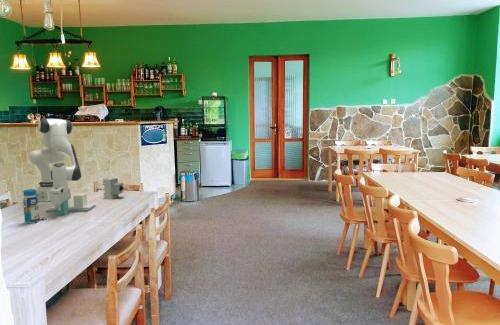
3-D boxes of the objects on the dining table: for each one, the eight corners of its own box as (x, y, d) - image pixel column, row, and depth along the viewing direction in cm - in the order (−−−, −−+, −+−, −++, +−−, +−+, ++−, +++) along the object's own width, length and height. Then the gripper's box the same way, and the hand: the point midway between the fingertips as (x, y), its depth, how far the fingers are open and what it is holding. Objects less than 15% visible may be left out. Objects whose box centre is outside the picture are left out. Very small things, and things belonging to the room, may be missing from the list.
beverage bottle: (25, 221, 246) (22, 189, 243) (40, 219, 249) (38, 188, 247) (23, 224, 238) (20, 192, 236) (39, 222, 242) (36, 190, 239)
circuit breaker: (120, 199, 303) (119, 179, 301) (104, 198, 306) (102, 179, 304) (125, 197, 310) (124, 178, 308) (109, 196, 313) (108, 177, 311)
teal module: (57, 215, 258) (56, 202, 257) (61, 213, 264) (60, 200, 263) (65, 215, 258) (63, 201, 257) (68, 213, 264) (67, 199, 263)
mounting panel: (46, 212, 267) (44, 197, 265) (55, 207, 281) (54, 193, 279) (88, 211, 267) (86, 196, 266) (95, 206, 281) (94, 192, 280)
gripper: (63, 185, 269) (64, 205, 271) (48, 191, 249) (50, 213, 251) (72, 185, 269) (74, 205, 271) (58, 191, 249) (60, 212, 251)
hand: (62, 208), depth 261 cm, fingers open, 7 cm apart
